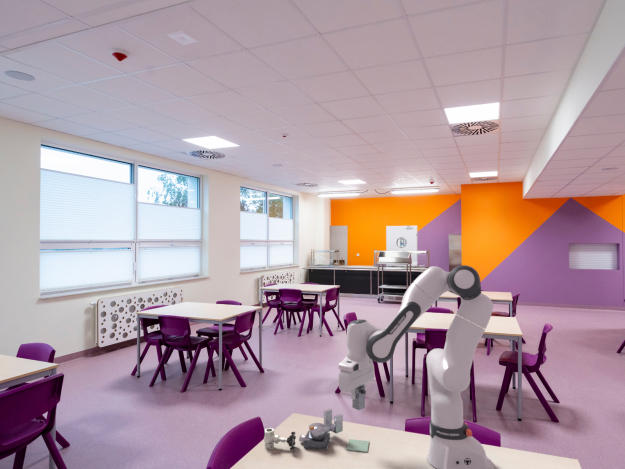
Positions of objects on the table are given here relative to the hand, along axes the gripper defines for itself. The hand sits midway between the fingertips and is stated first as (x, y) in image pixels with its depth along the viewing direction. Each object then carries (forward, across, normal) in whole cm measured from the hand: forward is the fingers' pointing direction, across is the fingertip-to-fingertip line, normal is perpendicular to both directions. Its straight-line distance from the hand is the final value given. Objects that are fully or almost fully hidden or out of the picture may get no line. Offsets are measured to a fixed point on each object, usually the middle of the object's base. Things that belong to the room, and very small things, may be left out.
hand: (357, 396), depth 154 cm
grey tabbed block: (+4, 0, +1) cm, 4 cm away
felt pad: (+19, 0, 0) cm, 19 cm away
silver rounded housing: (+16, +6, -12) cm, 21 cm away
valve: (+20, +21, -23) cm, 37 cm away
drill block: (+19, +10, -14) cm, 26 cm away
